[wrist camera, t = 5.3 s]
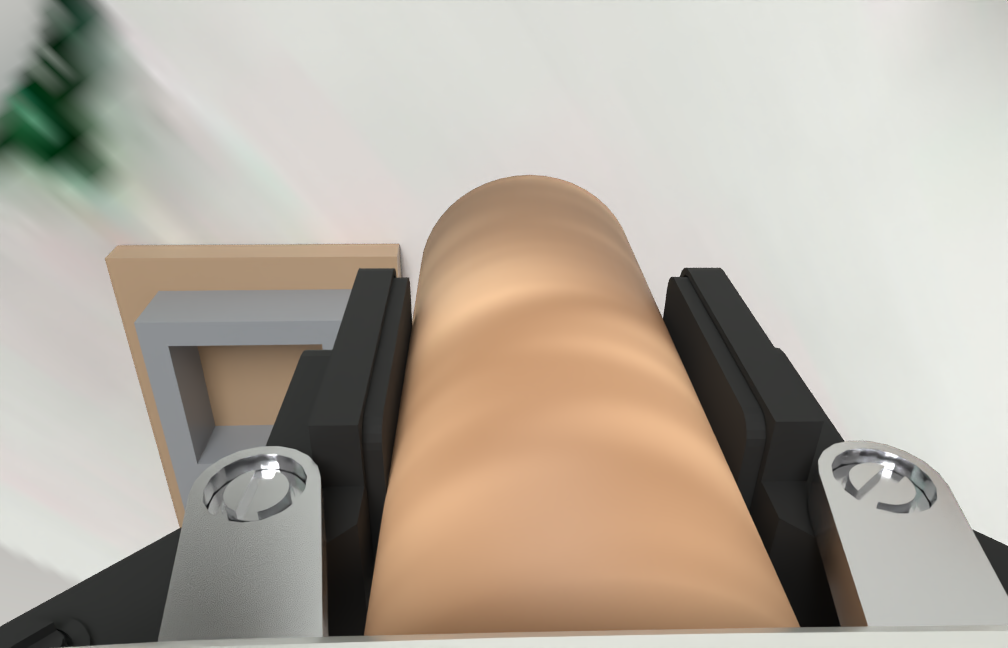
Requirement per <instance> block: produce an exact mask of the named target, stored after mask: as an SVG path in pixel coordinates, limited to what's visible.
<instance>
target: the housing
mask: <svg viewBox="0 0 1008 648" xmlns="http://www.w3.org/2000/svg"><path fill="white" fill-rule="evenodd" d="M105 261H106V264H107V268H108V272H109V275H110V279H111V282H112V286H113V289H114V293H115V297H116V300H117V304H118V307H119V311H120V315H121V318H122V322H123V325H124V329H125V333H126V336H127V340H128V343H129V347H130V351H131V354H132V358H133V361H134V365H135V368H136V372H137V376H138V379H139V383H140V386H141V390H142V394H143V397H144V401H145V404H146V408H147V412H148V415H149V419H150V422H151V426H152V430H153V433H154V437H155V440H156V444H157V447H158V451H159V455H160V458H161V462H162V465H163V469H164V473H165V476H166V480H167V483H168V487H169V491H170V494H171V498H172V501H173V505H174V509H175V512H176V516H177V519H178V523H179V526H180V528H181V527H182V523H183V519H184V514H185V509H186V505H187V500H188V495H189V493H190V491H191V488H192V486H193V484H194V482H195V480H196V479H197V478H198V477H199V476H200V475H201V474H202V473H203V472H204V471H205V470H206V469H207V468H208V467H210V466H211V465H213V464H214V463H216V462H217V461H219V460H220V459H222V458H224V457H226V456H229V455H231V454H234V453H236V452H239V451H242V450H246V449H251V448H256V447H264V446H266V444H267V441H268V438H269V436H270V433H271V431H272V428H273V426H274V423H275V420H276V418H277V415H278V413H279V410H280V408H281V405H282V402H283V400H284V397H285V395H286V392H287V390H288V387H289V384H290V382H291V379H292V377H293V374H294V372H295V369H296V366H297V364H298V361H299V359H300V356H301V354H302V353H303V351H305V350H332V349H333V346H334V343H335V340H336V337H337V334H338V331H339V328H340V324H341V321H342V318H343V315H344V312H345V309H346V306H347V303H348V300H349V297H350V293H351V290H352V287H353V284H354V281H355V278H356V275H357V272H358V270H359V268H395V270H396V275H397V278H401V265H400V248H399V244H298V245H126V246H117V247H116V248H115V249H114V250H113V251H112V252H111V253H110V254H109V255H108V256H107V257H106V258H105Z"/></svg>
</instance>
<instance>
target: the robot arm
mask: <svg viewBox="0 0 1008 648" xmlns="http://www.w3.org/2000/svg"><path fill="white" fill-rule="evenodd" d="M663 320H664V323H665V325H666V327H667V329H668V332H669V334H670V336H671V338H672V341H673V343H674V345H675V347H676V350H677V352H678V354H679V356H680V359H681V361H682V363H683V365H684V368H685V370H686V372H687V374H688V377H689V379H690V381H691V383H692V385H693V388H694V390H695V392H696V394H697V397H698V399H699V401H700V403H701V406H702V408H703V410H704V412H705V415H706V417H707V419H708V421H709V424H710V426H711V428H712V430H713V433H714V435H715V437H716V439H717V441H718V444H719V446H720V448H721V450H722V453H723V455H724V457H725V459H726V462H727V464H728V466H729V468H730V471H731V473H732V475H733V477H734V480H735V482H736V484H737V486H738V489H739V491H740V493H741V495H742V498H743V500H744V502H745V504H746V506H747V509H748V511H749V513H750V515H751V518H752V520H753V522H754V524H755V527H756V529H757V531H758V533H759V536H760V538H761V540H762V542H763V545H764V547H765V549H766V551H767V554H768V556H769V558H770V560H771V563H772V565H773V567H774V569H775V571H776V574H777V576H778V578H779V580H780V583H781V585H782V587H783V589H784V592H785V594H786V596H787V598H788V601H789V603H790V605H791V607H792V610H793V612H794V614H795V616H796V619H797V621H798V623H799V625H800V627H786V628H721V629H663V630H607V631H555V632H503V633H460V634H417V635H375V636H364V631H365V625H366V618H367V612H368V605H369V599H370V592H371V586H372V579H373V573H374V566H375V560H376V554H377V547H378V541H379V534H380V528H381V521H382V515H383V509H384V503H385V498H386V493H387V487H388V480H389V474H390V467H391V461H392V454H393V448H394V441H395V435H396V428H397V422H398V415H399V409H400V402H401V395H402V389H403V382H404V376H405V369H406V363H407V356H408V350H409V343H410V337H411V330H412V313H411V295H410V281H409V278H397V275H396V270H395V268H359V270H358V272H357V275H356V278H355V281H354V284H353V287H352V290H351V293H350V297H349V300H348V303H347V306H346V309H345V312H344V315H343V318H342V321H341V324H340V328H339V331H338V334H337V337H336V340H335V343H334V346H333V349H332V350H305V351H303V353H302V354H301V356H300V359H299V361H298V364H297V366H296V369H295V372H294V374H293V377H292V379H291V382H290V384H289V387H288V390H287V392H286V395H285V397H284V400H283V402H282V405H281V408H280V410H279V413H278V415H277V418H276V420H275V423H274V426H273V428H272V431H271V433H270V436H269V438H268V441H267V444H266V446H264V447H256V448H251V449H246V450H242V451H239V452H236V453H234V454H231V455H229V456H226V457H224V458H222V459H220V460H219V461H217V462H216V463H214V464H213V465H211V466H210V467H208V468H207V469H206V470H205V471H204V472H203V473H202V474H201V475H200V476H199V477H198V478H197V479H196V480H195V482H194V484H193V486H192V488H191V491H190V493H189V495H188V500H187V505H186V509H185V514H184V519H183V523H182V527H181V528H179V529H177V530H176V531H174V532H172V533H170V534H168V535H166V536H165V537H163V538H161V539H159V540H157V541H156V542H154V543H152V544H150V545H148V546H146V547H145V548H143V549H141V550H139V551H137V552H135V553H134V554H132V555H130V556H128V557H126V558H124V559H123V560H121V561H119V562H117V563H115V564H114V565H112V566H110V567H108V568H106V569H104V570H103V571H101V572H99V573H97V574H95V575H93V576H92V577H90V578H88V579H86V580H84V581H82V582H81V583H79V584H77V585H75V586H73V587H71V588H70V589H68V590H66V591H64V592H63V593H61V594H59V595H57V596H55V597H53V598H51V599H50V600H48V601H46V602H44V603H42V604H40V605H39V606H37V607H35V608H33V609H31V610H30V611H28V612H26V613H24V614H22V615H20V616H19V617H17V618H15V619H13V620H11V621H10V622H7V623H6V624H4V625H2V626H1V627H0V648H1008V546H1007V545H1005V544H1003V543H1000V542H998V541H996V540H994V539H992V538H990V537H987V536H985V535H983V534H981V533H979V532H977V531H974V530H972V529H971V527H970V525H969V523H968V521H967V519H966V517H965V515H964V514H963V512H962V510H961V508H960V506H959V504H958V502H957V501H956V499H955V497H954V495H953V493H952V491H951V489H950V487H949V486H948V484H947V483H946V482H945V481H944V479H943V478H942V477H941V475H940V474H939V473H938V472H937V471H935V470H934V469H933V468H932V467H930V466H929V465H928V464H927V463H926V462H924V461H923V460H921V459H919V458H917V457H915V456H913V455H911V454H910V453H908V452H906V451H903V450H900V449H897V448H895V447H892V446H889V445H886V444H881V443H875V442H870V441H846V442H845V441H844V440H843V439H842V437H841V436H840V434H839V433H838V431H837V430H836V428H835V427H834V425H833V424H832V422H831V421H830V419H829V418H828V417H827V415H826V414H825V412H824V411H823V409H822V408H821V406H820V405H819V403H818V402H817V400H816V399H815V397H814V396H813V394H812V393H811V392H810V390H809V389H808V387H807V386H806V384H805V383H804V381H803V380H802V378H801V377H800V375H799V374H798V372H797V371H796V370H795V368H794V367H793V365H792V364H791V362H790V361H789V359H788V358H787V356H786V355H785V353H784V352H783V351H782V350H781V349H780V348H775V347H774V346H773V344H772V343H771V341H770V340H769V338H768V337H767V335H766V334H765V332H764V331H763V329H762V328H761V326H760V325H759V323H758V322H757V320H756V319H755V317H754V316H753V314H752V313H751V311H750V310H749V308H748V307H747V305H746V304H745V302H744V301H743V299H742V298H741V296H740V295H739V293H738V292H737V290H736V289H735V287H734V286H733V284H732V283H731V281H730V280H729V278H728V277H727V275H726V274H725V272H724V271H723V270H722V269H721V268H684V269H683V270H682V272H681V275H680V277H671V278H670V279H669V282H668V287H667V294H666V301H665V309H664V316H663Z"/></svg>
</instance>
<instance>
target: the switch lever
mask: <svg viewBox="0 0 1008 648" xmlns="http://www.w3.org/2000/svg"><path fill="white" fill-rule="evenodd" d="M786 627H800V625H799V623H798V621H797V619H796V616H795V614H794V612H793V610H792V607H791V605H790V603H789V601H788V598H787V596H786V594H785V592H784V589H783V587H782V585H781V583H780V580H779V578H778V576H777V574H776V571H775V569H774V567H773V565H772V563H771V560H770V558H769V556H768V554H767V551H766V549H765V547H764V545H763V542H762V540H761V538H760V536H759V533H758V531H757V529H756V527H755V524H754V522H753V520H752V518H751V515H750V513H749V511H748V509H747V506H746V504H745V502H744V500H743V498H742V495H741V493H740V491H739V489H738V486H737V484H736V482H735V480H734V477H733V475H732V473H731V471H730V468H729V466H728V464H727V462H726V459H725V457H724V455H723V453H722V450H721V448H720V446H719V444H718V441H717V439H716V437H715V435H714V433H713V430H712V428H711V426H710V424H709V421H708V419H707V417H706V415H705V412H704V410H703V408H702V406H701V403H700V401H699V399H698V397H697V394H696V392H695V390H694V388H693V385H692V383H691V381H690V379H689V377H688V374H687V372H686V370H685V368H684V365H683V363H682V361H681V359H680V356H679V354H678V352H677V350H676V347H675V345H674V343H673V341H672V338H671V336H670V334H669V332H668V329H667V327H666V325H665V323H664V320H663V318H662V316H661V314H660V312H659V309H658V307H657V305H656V303H655V300H654V298H653V296H652V294H651V291H650V289H649V287H648V285H647V282H646V280H645V278H644V276H643V273H642V271H641V269H640V267H639V264H638V262H637V260H636V258H635V255H634V253H633V251H632V249H631V247H630V244H629V242H628V240H627V238H626V235H625V233H624V231H623V229H622V227H621V225H620V224H619V222H618V220H617V219H616V217H615V216H614V215H613V213H612V212H611V211H610V210H609V209H608V207H607V206H606V205H605V204H603V203H602V202H601V201H600V200H599V199H598V198H597V197H595V196H594V195H592V194H591V193H589V192H588V191H586V190H585V189H583V188H581V187H579V186H577V185H575V184H573V183H570V182H567V181H564V180H561V179H557V178H552V177H547V176H537V175H522V176H512V177H507V178H501V179H498V180H495V181H492V182H489V183H486V184H484V185H482V186H480V187H477V188H475V189H473V190H472V191H470V192H468V193H467V194H465V195H464V196H462V197H461V198H460V199H458V200H457V201H456V202H455V203H454V204H452V205H451V206H450V207H449V208H448V209H447V211H446V212H445V213H444V214H443V215H442V216H441V217H440V219H439V220H438V222H437V223H436V225H435V226H434V228H433V229H432V232H431V234H430V236H429V238H428V240H427V243H426V246H425V249H424V252H423V257H422V263H421V269H420V275H419V282H418V288H417V295H416V301H415V308H414V314H413V321H412V330H411V337H410V343H409V350H408V356H407V363H406V369H405V376H404V382H403V389H402V395H401V402H400V409H399V415H398V422H397V428H396V435H395V441H394V448H393V454H392V461H391V467H390V474H389V480H388V487H387V493H386V498H385V503H384V509H383V515H382V521H381V528H380V534H379V541H378V547H377V554H376V560H375V566H374V573H373V579H372V586H371V592H370V599H369V605H368V612H367V618H366V625H365V631H364V636H375V635H417V634H460V633H503V632H555V631H607V630H663V629H721V628H786Z"/></svg>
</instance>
